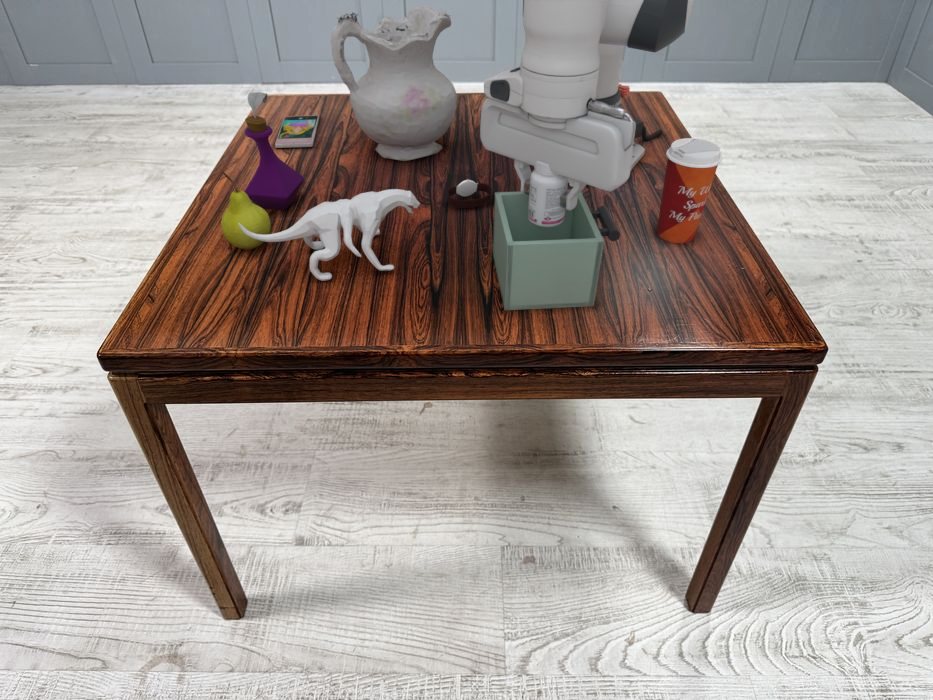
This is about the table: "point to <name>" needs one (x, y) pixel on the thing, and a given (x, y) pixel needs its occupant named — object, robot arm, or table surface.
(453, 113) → the ceramic pitcher
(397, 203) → the white toy dinosaur
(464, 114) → the table surface
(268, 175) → the perfume bottle
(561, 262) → the basket
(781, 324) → the table surface
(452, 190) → the watch
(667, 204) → the paper cup
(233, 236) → the fruit
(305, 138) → the smartphone
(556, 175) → the pill bottle
